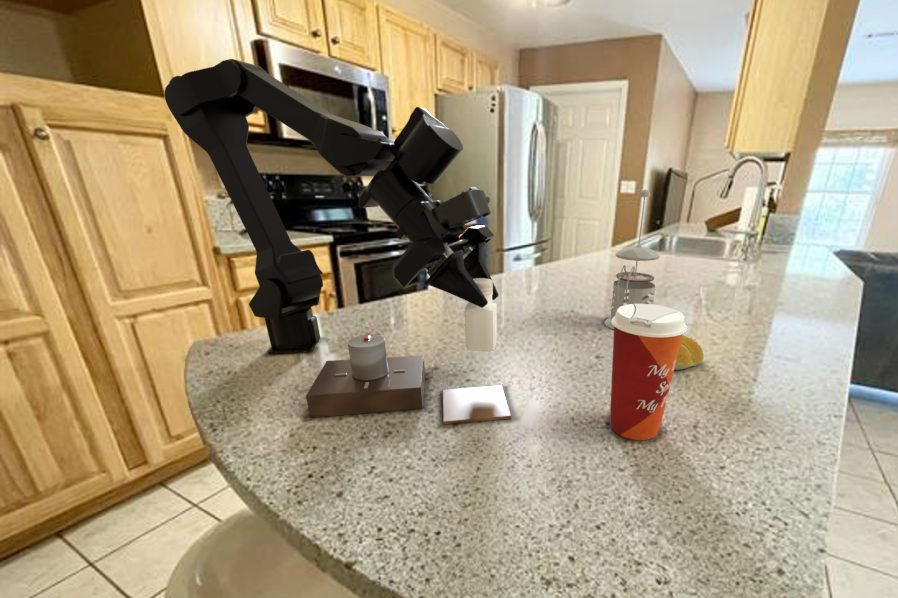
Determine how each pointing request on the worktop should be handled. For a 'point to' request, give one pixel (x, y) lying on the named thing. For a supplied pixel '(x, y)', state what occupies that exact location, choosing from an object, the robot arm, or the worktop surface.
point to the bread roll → (688, 354)
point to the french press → (633, 276)
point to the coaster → (474, 404)
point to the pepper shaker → (481, 320)
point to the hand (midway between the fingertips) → (490, 301)
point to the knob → (368, 357)
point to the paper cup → (643, 367)
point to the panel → (367, 389)
